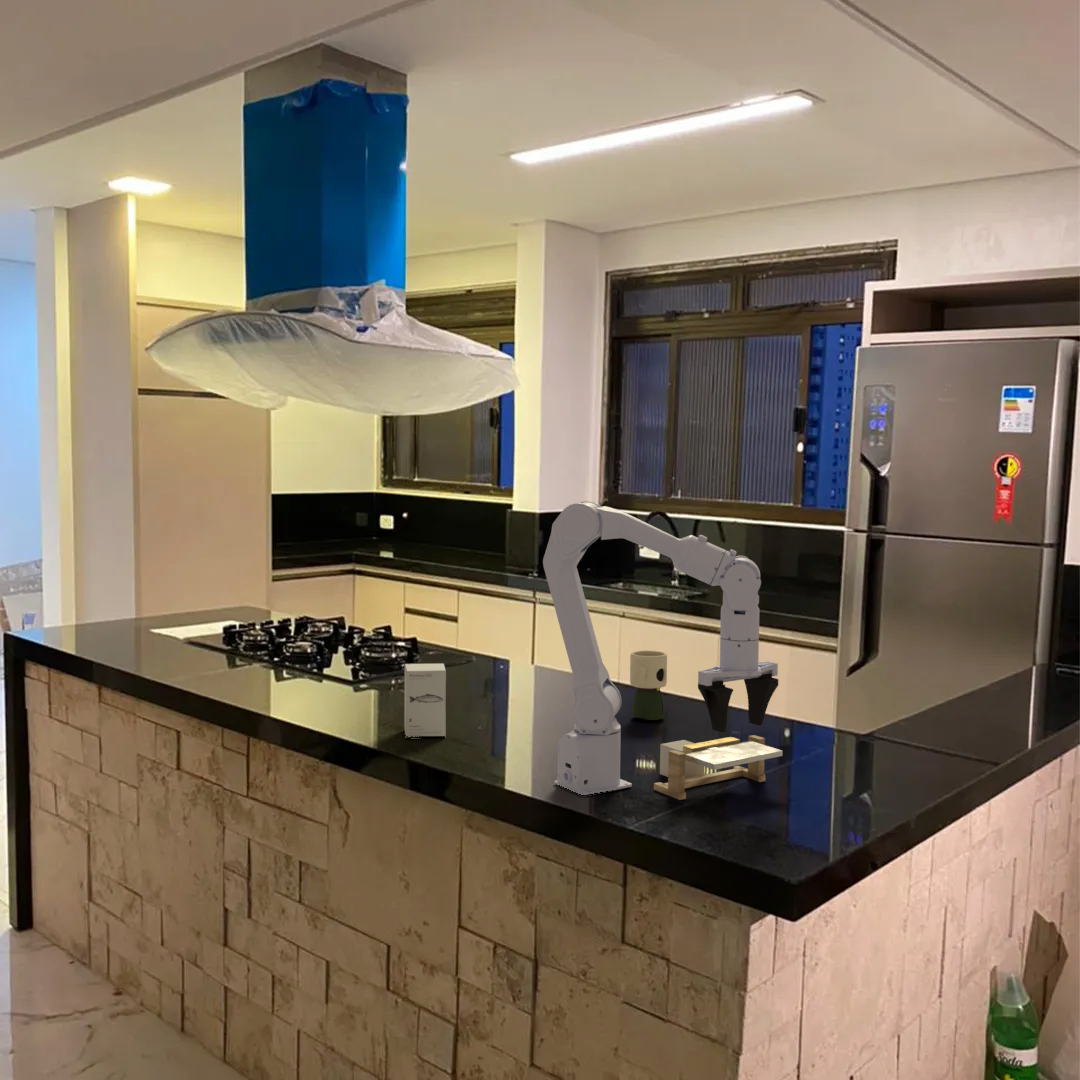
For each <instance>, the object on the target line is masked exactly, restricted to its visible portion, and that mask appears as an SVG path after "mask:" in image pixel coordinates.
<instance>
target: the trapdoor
mask: <svg viewBox="0 0 1080 1080" xmlns="http://www.w3.org/2000/svg"><path fill="white" fill-rule="evenodd" d="M740 741H741V740H740V738H736V737H734V736H733V737H732V736H729V737H723V738H718V739H713V740H711V739H710V740H708V741H707V740H706V741H702V742H701V741H700V742H696V743H695V742H694V743H695V744H689V745H684V746H683V753H685V760H688V761H691V762H693V763H696V764H699V765H702V766H704V768H705V767H706V768H708V769H710V770H713V771H715V770H716V771H717V770H720V769H721V770H722V769H726V768H731V767H735V766H740V765H745V764H748V763H750V762H755V761H760V760H764V761H765V760H768V759H774V758H778V757H783V750H782V749H779V748H775V747H772V746H769V745H766V744H765V745H763V744H759V743H756V742H753V741H747V740H746V741H742V742H740Z"/></svg>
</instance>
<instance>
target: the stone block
mask: <svg viewBox="0 0 1080 1080" xmlns="http://www.w3.org/2000/svg"><path fill="white" fill-rule="evenodd" d="M689 744H695V742H693V741H689V740H686V739H681V740H676V741H670V742H666V743H660V751H659V752H660V753H659V757H660V758H659V775H661V776H664V777H667V778H668V760H669V751H672V750H676V751H679V752H682V753H683V746H684V745H689ZM702 775H705V766H702V765H699V764H696V763H693V762H691V761H688V760H685V779H688V778H693V777H697V776H702Z"/></svg>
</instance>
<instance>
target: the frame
mask: <svg viewBox="0 0 1080 1080" xmlns="http://www.w3.org/2000/svg"><path fill="white" fill-rule="evenodd" d="M748 741H753V742H756V743H759V744H763V745H766V738H765V737H763V736H759V735H756V734H754V735H753V734H752V735H748ZM740 777H744V778H746V779H749V780H752V781H755V782H758V783H762V782H766V774H765V760H760V761H755V762H750V763H747V768H746V767H743V766H742V765H741V766H740V765H736V766H732V769H727V770H722V771H718V772H714V773H707V774H704V775H702V776H697V777H693V778H688V779H685V753H682V752H679V751H676V750H672V751H669V760H668V777H667V782H661V781H660V782H659V781H658V782H654V783H653V791H656V792H659V793H661V794H664V795H666V796H669V797H670V798H673V799H676V800H678V801H681V800H686V799H687V792H686V791H685V790H686V789H688V788H689V789H690V788H693V787H697V786H703V785H706V784H712V783H717V782H721V781H725V780H731V779H735V778H740Z"/></svg>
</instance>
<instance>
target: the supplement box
mask: <svg viewBox="0 0 1080 1080" xmlns="http://www.w3.org/2000/svg"><path fill="white" fill-rule="evenodd" d="M446 685H447V670H446V666H445V664H444V663H404V710H403V711H404V712H403V713H404V714H403V715H404V717H403V718H404V720H403V721H404V725H403V726H404V727H403V728H404V735H406V736H408V737H411V736H413V737H415V736H416V737H417V736H418V737H419V736H445V737H446V735H447V734H446V733H447V732H446V730H447V726H446V725H447V723H446V721H447V720H446V719H447V718H446V707H447V706H446V704H447V703H446V701H447V700H446V697H447V694H446V693H447V691H446V689H447V688H446V687H447V686H446ZM406 736H405V737H406Z"/></svg>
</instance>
